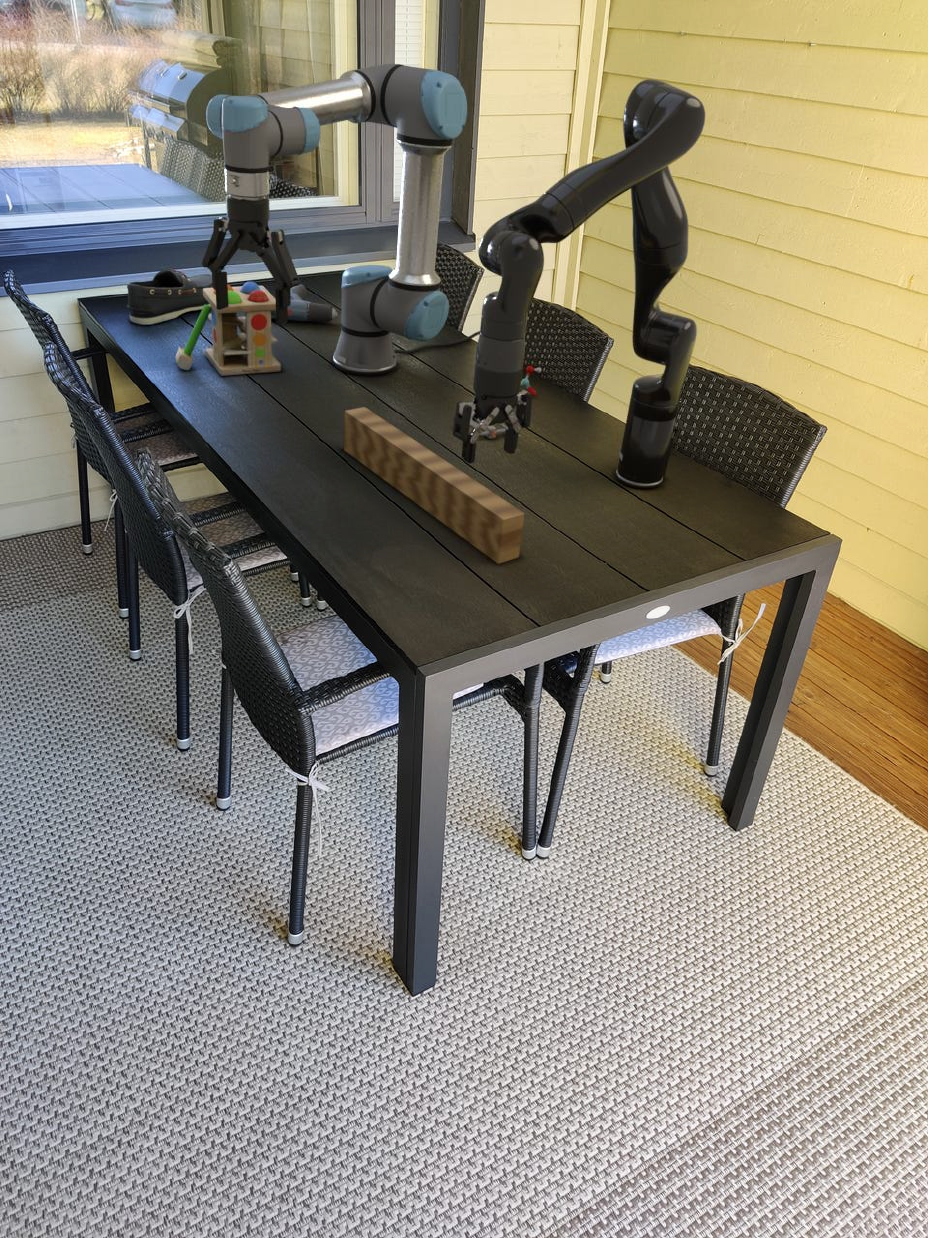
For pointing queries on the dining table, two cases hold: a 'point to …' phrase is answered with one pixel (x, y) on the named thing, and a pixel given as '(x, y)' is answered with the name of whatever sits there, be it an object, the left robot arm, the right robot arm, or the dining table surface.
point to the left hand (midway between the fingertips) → (251, 315)
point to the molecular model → (526, 382)
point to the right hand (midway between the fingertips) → (489, 456)
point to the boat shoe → (166, 296)
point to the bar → (435, 485)
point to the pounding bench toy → (229, 347)
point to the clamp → (493, 430)
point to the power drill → (306, 308)
